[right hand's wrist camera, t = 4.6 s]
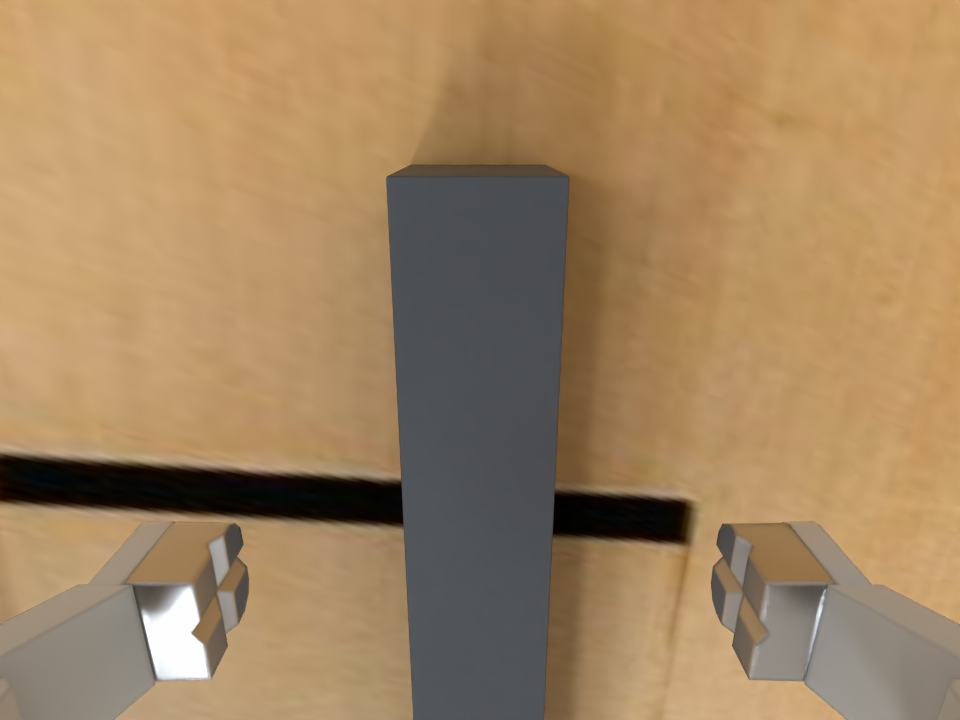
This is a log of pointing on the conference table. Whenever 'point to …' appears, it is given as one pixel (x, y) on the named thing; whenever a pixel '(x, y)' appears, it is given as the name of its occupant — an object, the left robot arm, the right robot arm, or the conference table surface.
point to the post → (478, 427)
